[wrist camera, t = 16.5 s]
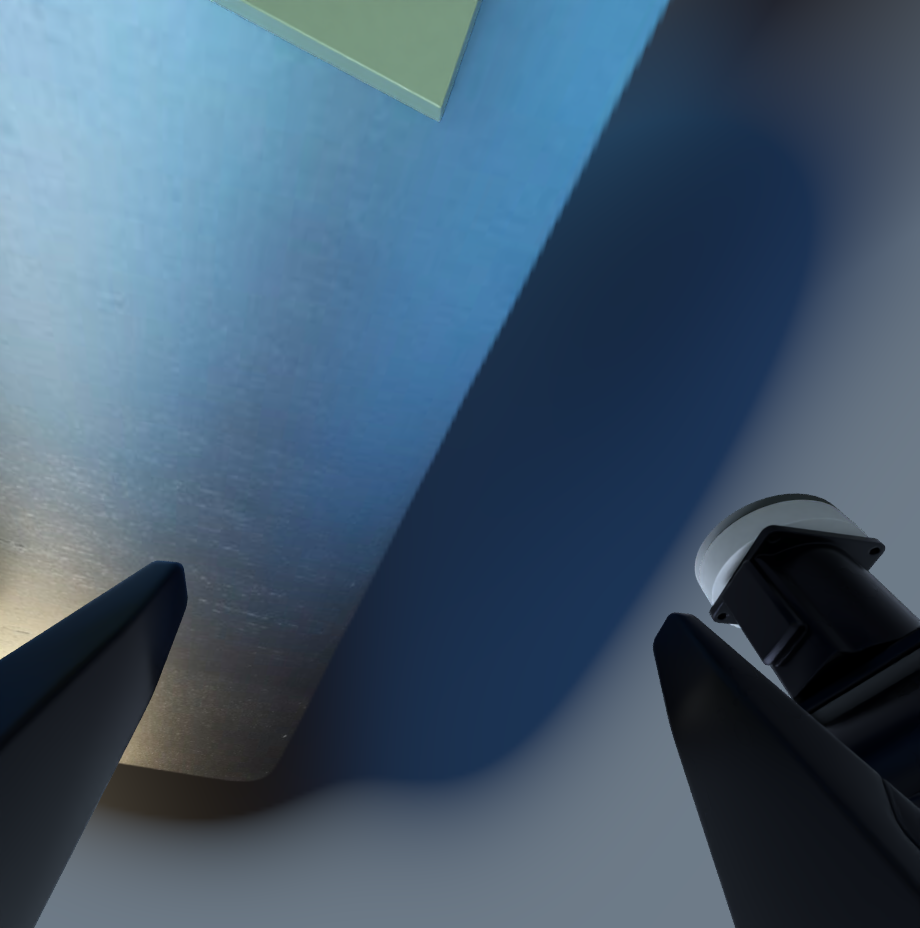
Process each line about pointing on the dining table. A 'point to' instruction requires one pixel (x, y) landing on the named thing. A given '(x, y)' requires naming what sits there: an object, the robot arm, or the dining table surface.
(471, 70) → the dining table surface
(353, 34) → the green block
